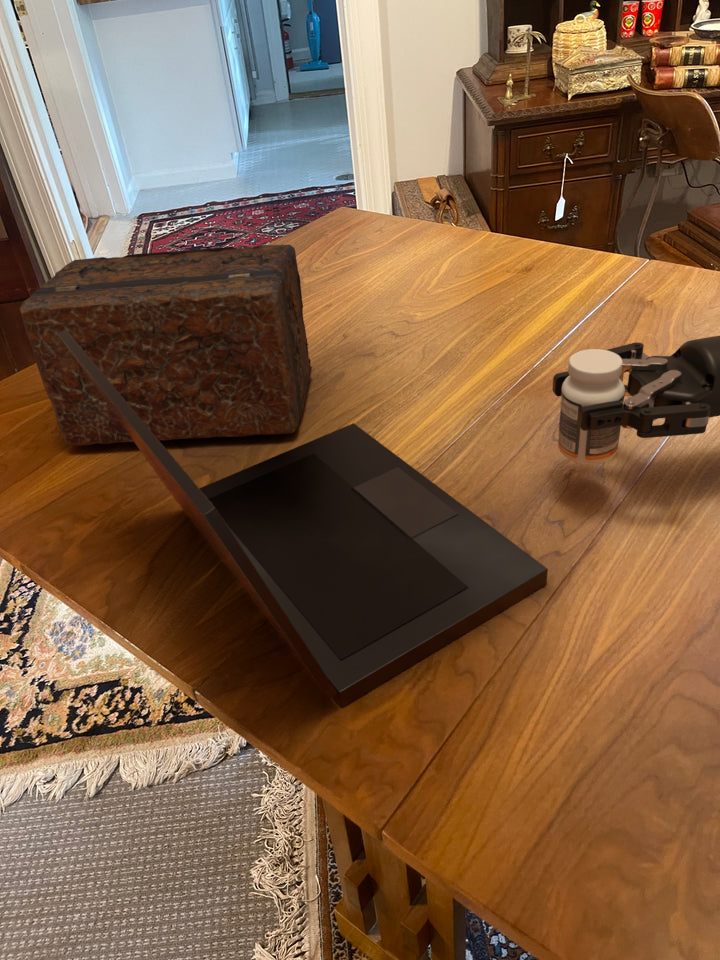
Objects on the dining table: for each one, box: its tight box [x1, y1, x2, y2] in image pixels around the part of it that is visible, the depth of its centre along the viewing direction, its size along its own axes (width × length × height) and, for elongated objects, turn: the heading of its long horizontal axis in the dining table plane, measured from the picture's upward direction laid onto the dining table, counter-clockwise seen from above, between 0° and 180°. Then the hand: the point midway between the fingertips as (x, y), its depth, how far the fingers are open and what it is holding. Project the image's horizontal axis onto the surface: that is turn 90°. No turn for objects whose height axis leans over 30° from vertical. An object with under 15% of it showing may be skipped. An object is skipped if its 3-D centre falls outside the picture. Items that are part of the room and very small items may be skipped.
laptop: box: [198, 423, 549, 709], centre depth 72 cm, size 22×32×2 cm
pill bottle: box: [557, 348, 625, 465], centre depth 69 cm, size 6×6×10 cm
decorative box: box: [19, 244, 313, 447], centre depth 91 cm, size 31×20×20 cm
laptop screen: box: [58, 330, 337, 700], centre depth 60 cm, size 22×32×1 cm
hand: (567, 401), depth 69 cm, fingers closed on pill bottle, 5 cm apart
